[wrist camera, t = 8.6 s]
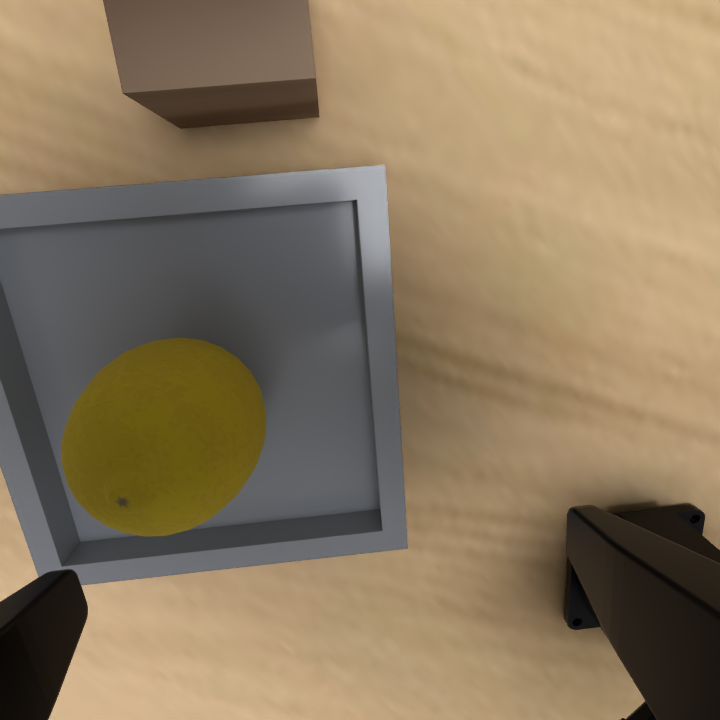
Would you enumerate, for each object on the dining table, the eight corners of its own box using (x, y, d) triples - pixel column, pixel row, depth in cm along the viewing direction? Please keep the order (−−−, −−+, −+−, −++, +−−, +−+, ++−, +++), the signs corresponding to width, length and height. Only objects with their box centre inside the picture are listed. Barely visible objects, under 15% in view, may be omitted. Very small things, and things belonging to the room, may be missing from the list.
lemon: (104, 371, 18) (-60, 482, 10) (216, 287, 17) (128, 340, 10) (200, 471, 20) (117, 634, 12) (305, 398, 19) (290, 519, 11)
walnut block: (319, 117, 17) (315, 78, 12) (181, 128, 17) (122, 93, 12) (302, -49, 15) (291, -168, 11) (150, -38, 15) (70, -154, 11)
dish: (398, 512, 22) (407, 548, 20) (74, 548, 21) (42, 589, 19) (377, 172, 18) (385, 164, 15) (-32, 204, 17) (-92, 202, 15)
